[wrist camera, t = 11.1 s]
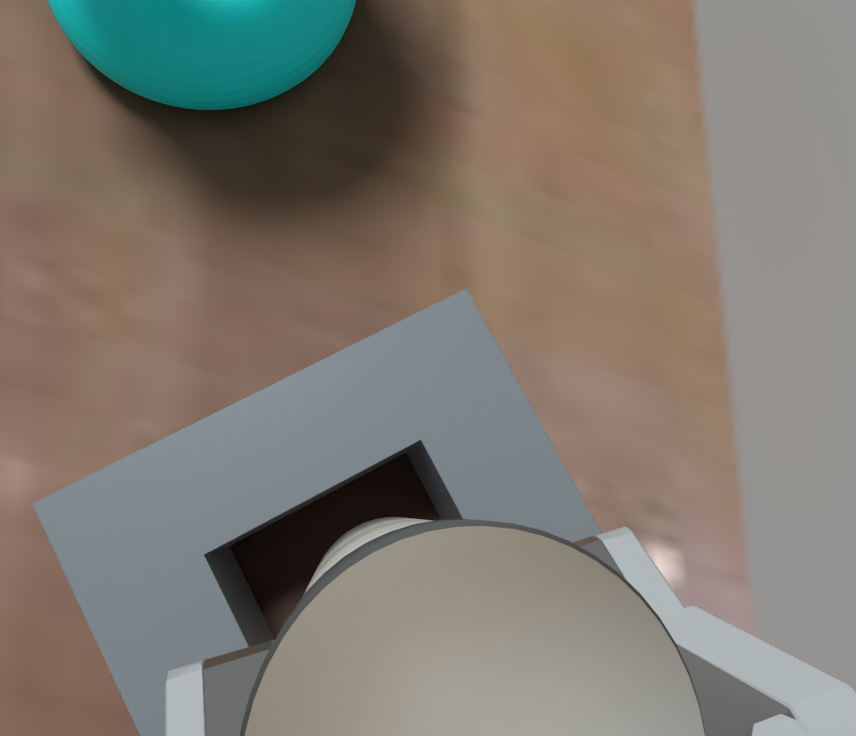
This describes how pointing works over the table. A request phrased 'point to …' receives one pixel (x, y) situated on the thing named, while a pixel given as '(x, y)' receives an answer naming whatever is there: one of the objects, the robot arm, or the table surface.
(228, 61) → the donuts
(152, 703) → the socket
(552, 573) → the peg
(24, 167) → the table surface
